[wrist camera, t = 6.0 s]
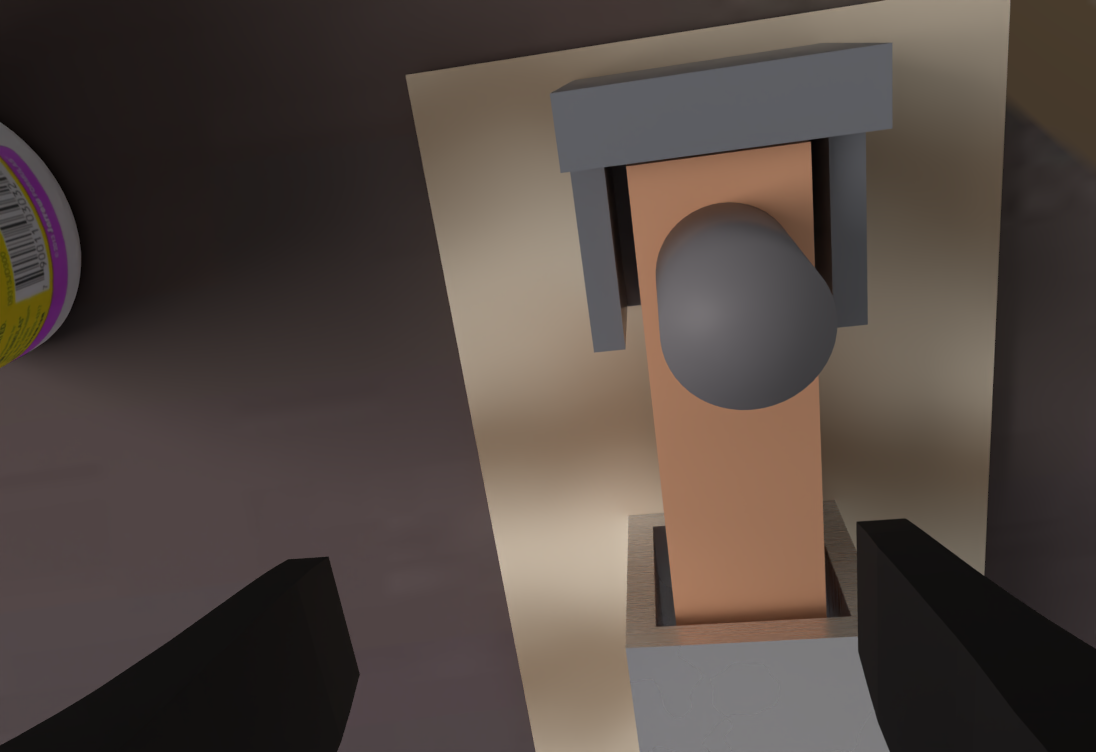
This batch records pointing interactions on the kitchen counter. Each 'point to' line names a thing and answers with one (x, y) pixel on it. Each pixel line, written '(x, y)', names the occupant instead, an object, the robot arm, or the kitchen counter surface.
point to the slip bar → (736, 377)
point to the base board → (622, 375)
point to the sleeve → (746, 663)
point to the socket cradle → (714, 126)
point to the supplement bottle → (33, 250)
